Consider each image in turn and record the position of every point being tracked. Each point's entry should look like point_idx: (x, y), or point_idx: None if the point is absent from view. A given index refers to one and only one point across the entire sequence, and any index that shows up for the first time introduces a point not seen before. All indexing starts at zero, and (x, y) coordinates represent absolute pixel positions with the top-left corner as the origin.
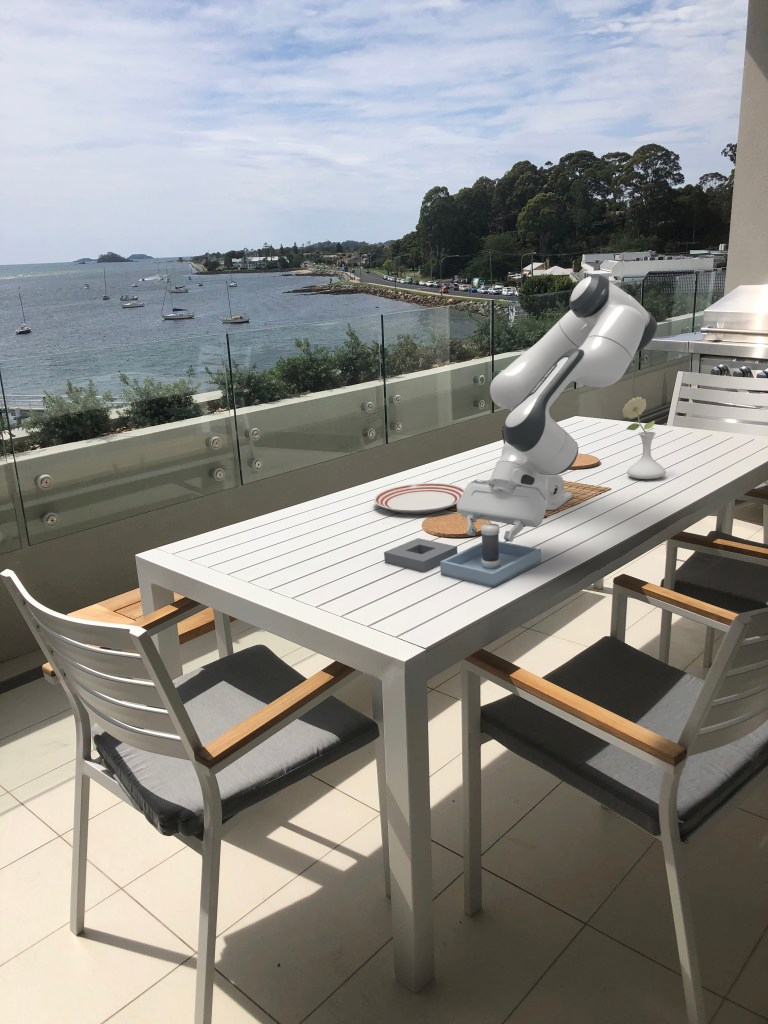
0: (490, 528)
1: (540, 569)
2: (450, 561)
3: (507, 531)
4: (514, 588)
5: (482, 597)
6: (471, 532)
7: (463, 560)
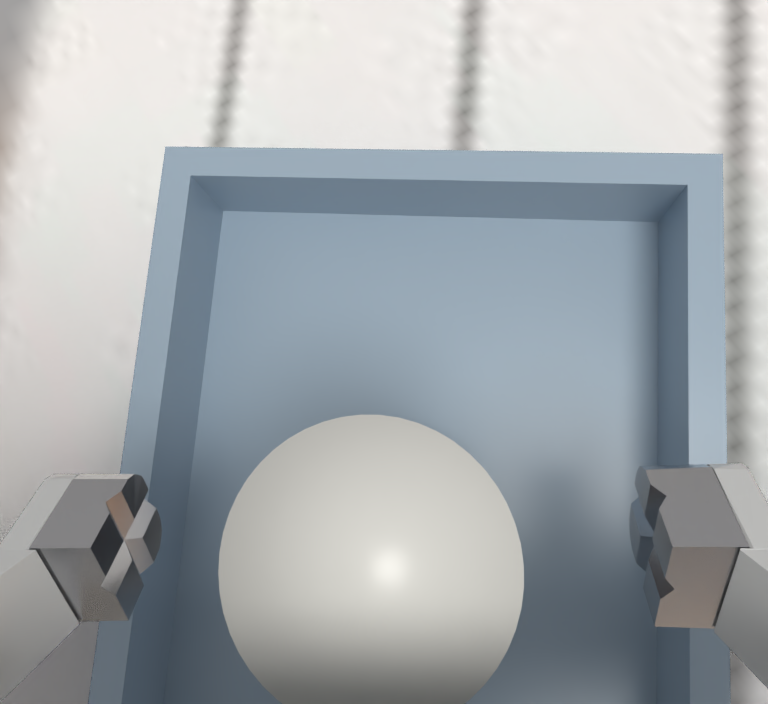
0: (294, 456)
1: (68, 670)
2: (678, 262)
3: (69, 543)
4: (84, 253)
5: (193, 38)
6: (648, 467)
7: (664, 455)
